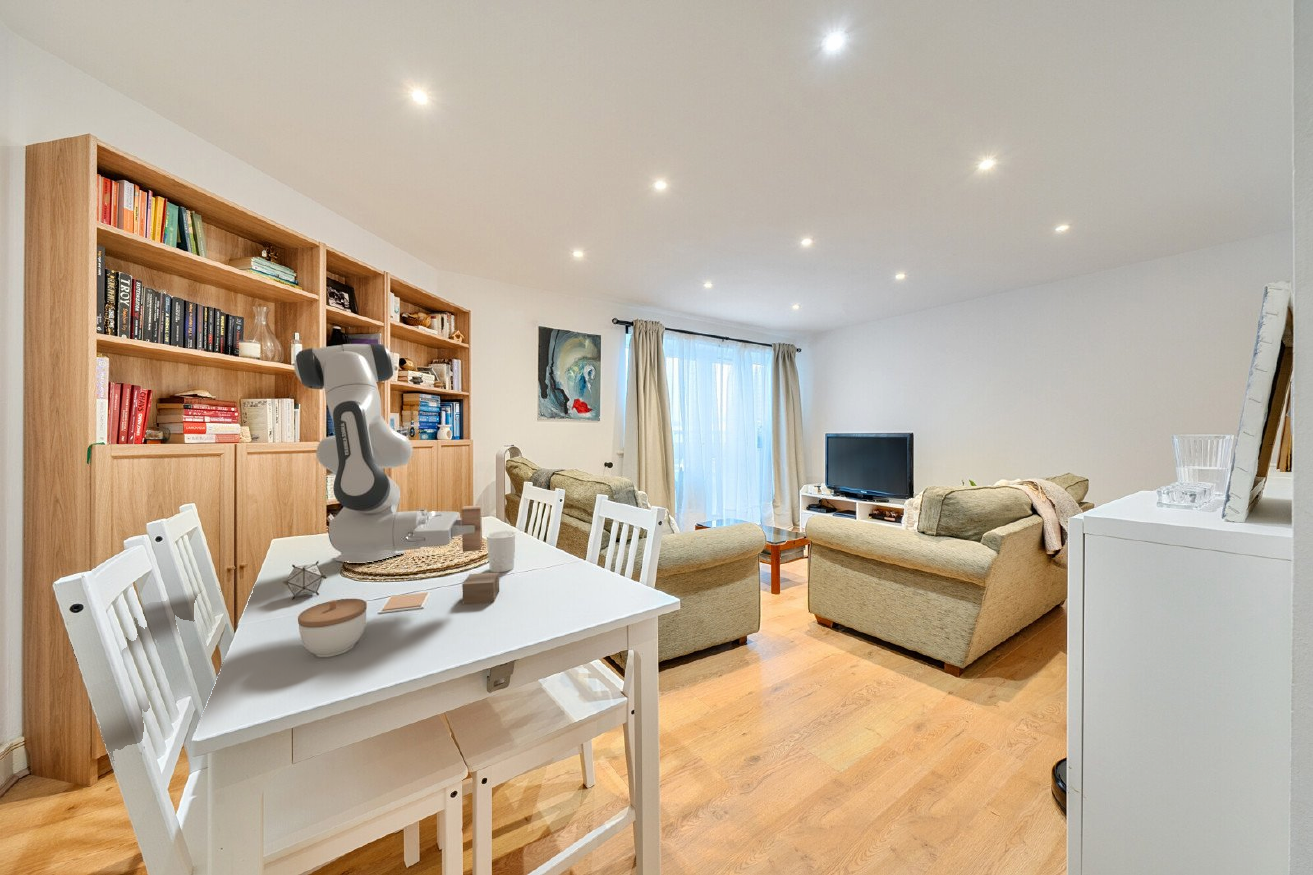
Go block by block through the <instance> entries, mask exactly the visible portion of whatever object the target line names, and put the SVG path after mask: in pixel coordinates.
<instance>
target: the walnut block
mask: <svg viewBox="0 0 1313 875" xmlns="http://www.w3.org/2000/svg"><path fill="white" fill-rule="evenodd" d="M461 585H462V586H461V587H462V588H461V589H462V605H474V604H489V603H492V604H493V603H495V601H496V599H497V597H498V596H499V593H500V572H486V573H485V572H483V573H470V574H469V575H468V576H467V577H466V579H465V580H464V582H463V583H462V584H461Z"/></svg>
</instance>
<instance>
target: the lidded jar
mask: <svg viewBox="0 0 1313 875" xmlns="http://www.w3.org/2000/svg"><path fill="white" fill-rule="evenodd" d="M367 605H368V604H367V602H366V601H365V600H363V599H362V598H361V599H360V598H340V599H332V600H329V601H326V602H322V603H319V604H315V605H313V606H311V607H308V608H307V609H305V610H303V611H301V613H300V614H298V616H297V624H298V630H299V636H300V639H301V640H300V641H301V643H302V645H303V646H304V647H305V649H306V650H307V651H309V652H310V653H312V654H314V655H315V656H316V657H318V658H330V657H336V656H339V655H342V654H344V653H347V652H349V651H350V650H351V649H352V648H354V646H355V644H357V642H358V641H359V639H361V637H362V635H363V633H364V631H365V629H366V623H367V608H368V607H367Z"/></svg>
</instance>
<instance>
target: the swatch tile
mask: <svg viewBox="0 0 1313 875" xmlns="http://www.w3.org/2000/svg"><path fill="white" fill-rule="evenodd" d="M431 594H432V593H431V592H419V593H411V594H409V593H408V594H402V595H392V596H389V597H388V598H387V599H386V601H385V603H383V605H382V607H381V608H380V609H379V611H378V614H384V613H385V614H386V613H395V612H401V611H402V612H403V611H411V610H412V611H413V610H420V609H424V608H425V607H426V604H427V603H428V601H429V598H430V597H431Z"/></svg>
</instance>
